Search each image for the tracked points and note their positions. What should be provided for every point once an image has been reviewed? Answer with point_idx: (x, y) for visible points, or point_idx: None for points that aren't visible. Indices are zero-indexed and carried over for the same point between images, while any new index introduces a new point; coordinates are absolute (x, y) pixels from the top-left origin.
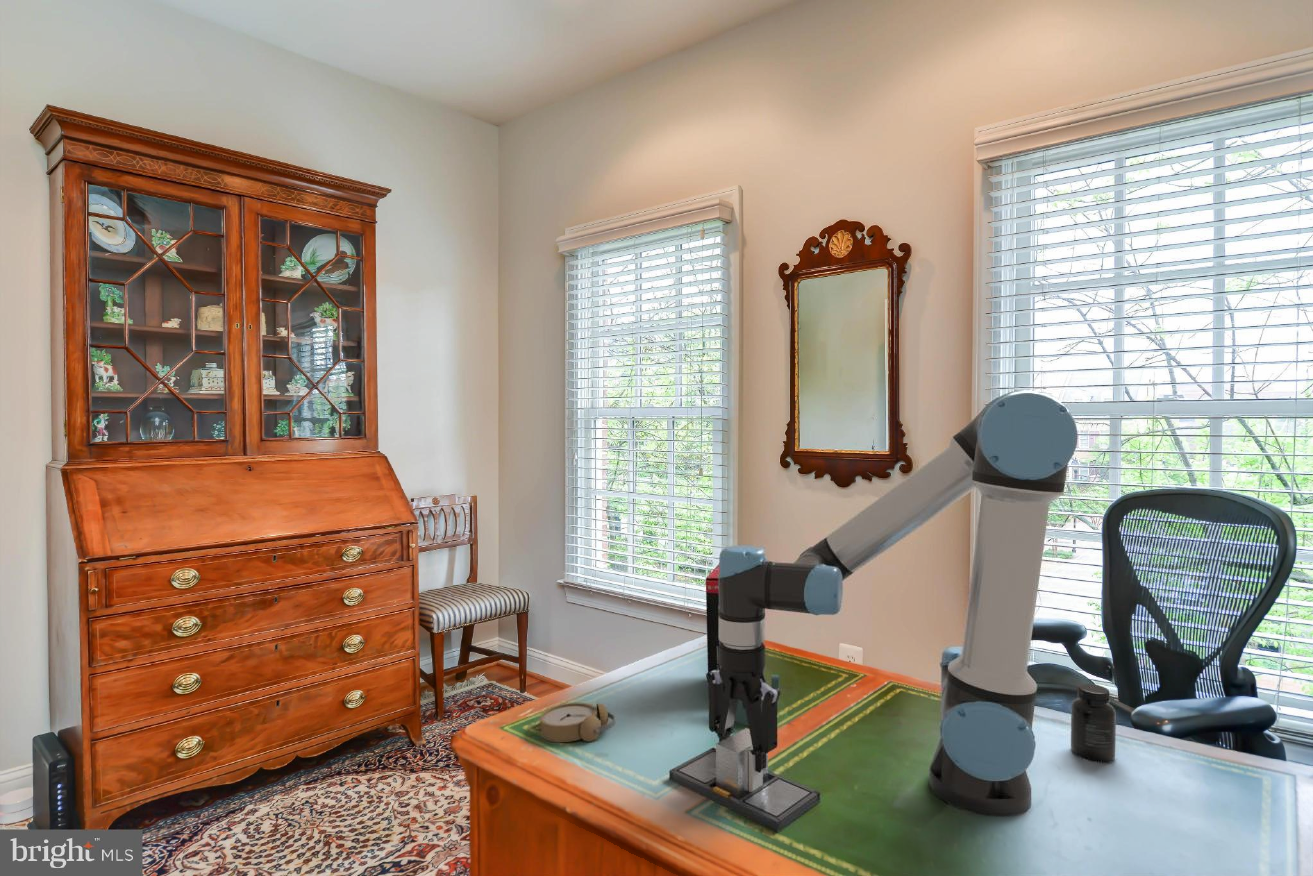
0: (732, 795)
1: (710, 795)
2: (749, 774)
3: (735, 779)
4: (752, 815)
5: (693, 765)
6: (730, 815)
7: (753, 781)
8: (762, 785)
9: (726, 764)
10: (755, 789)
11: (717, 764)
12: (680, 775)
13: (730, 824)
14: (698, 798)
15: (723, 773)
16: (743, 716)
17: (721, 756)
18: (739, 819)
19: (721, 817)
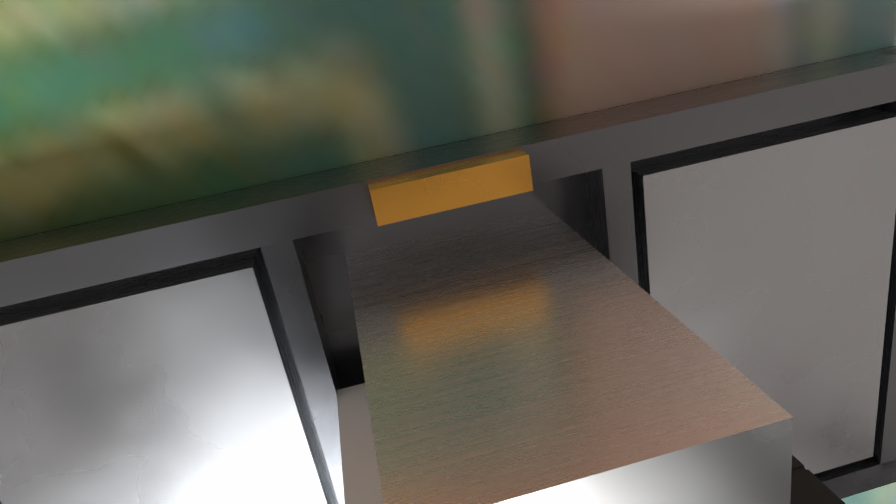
0: (405, 256)
1: (528, 133)
2: None
3: (389, 323)
4: (110, 225)
5: (864, 249)
6: (263, 116)
7: (343, 451)
8: None
9: (528, 348)
10: None
11: (633, 300)
12: (849, 79)
13: (153, 31)
14: (586, 62)
15: (533, 290)
16: None
17: (627, 364)
18: (179, 138)
19: (277, 37)
